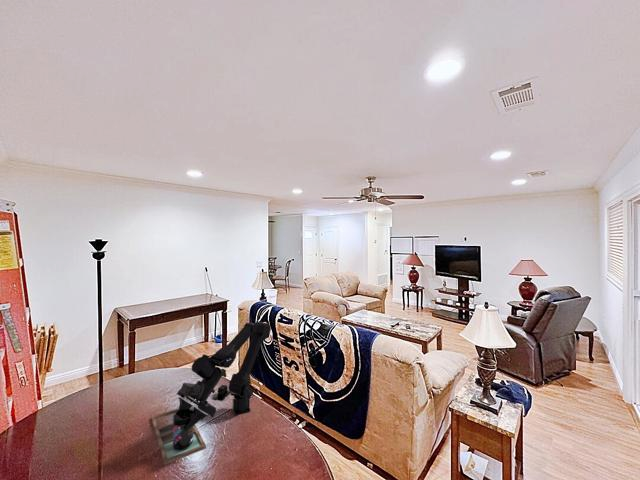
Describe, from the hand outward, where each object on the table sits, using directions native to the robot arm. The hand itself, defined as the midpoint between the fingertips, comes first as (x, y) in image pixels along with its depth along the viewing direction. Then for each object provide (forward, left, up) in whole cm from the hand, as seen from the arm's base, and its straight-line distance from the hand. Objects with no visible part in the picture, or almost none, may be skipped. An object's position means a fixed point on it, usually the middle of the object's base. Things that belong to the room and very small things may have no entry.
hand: (179, 426), depth 99 cm
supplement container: (-1, -1, -7) cm, 7 cm away
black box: (-20, -31, -9) cm, 38 cm away
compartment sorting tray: (+1, -10, -8) cm, 13 cm away
